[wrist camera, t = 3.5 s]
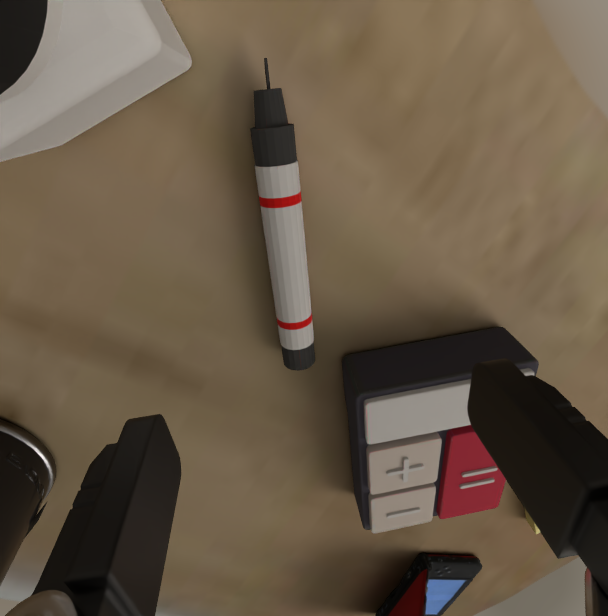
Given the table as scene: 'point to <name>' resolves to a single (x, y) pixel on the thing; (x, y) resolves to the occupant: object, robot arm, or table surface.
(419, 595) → the handheld console
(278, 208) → the marker
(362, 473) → the calculator
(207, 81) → the table surface
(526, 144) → the table surface
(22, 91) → the medicine bottle
